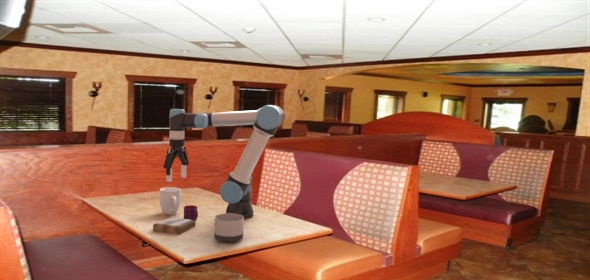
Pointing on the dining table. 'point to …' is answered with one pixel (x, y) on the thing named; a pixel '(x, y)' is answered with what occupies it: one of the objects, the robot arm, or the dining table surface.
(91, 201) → the dining table surface
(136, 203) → the dining table surface
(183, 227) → the stand
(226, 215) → the planter
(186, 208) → the cup
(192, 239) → the dining table surface
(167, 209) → the mug
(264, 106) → the robot arm
